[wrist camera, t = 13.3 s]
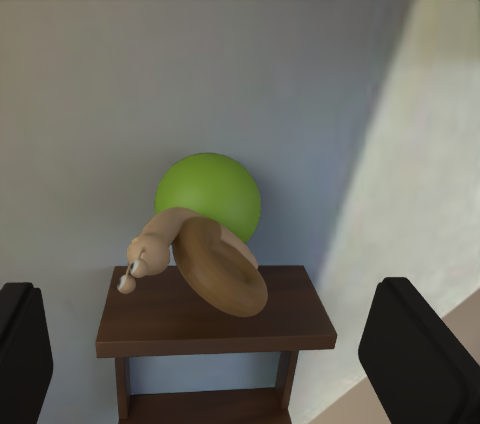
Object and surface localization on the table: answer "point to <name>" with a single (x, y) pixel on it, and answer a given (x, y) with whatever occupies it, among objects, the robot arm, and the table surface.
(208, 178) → the snail figurine
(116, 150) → the table surface
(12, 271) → the table surface
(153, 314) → the frame
